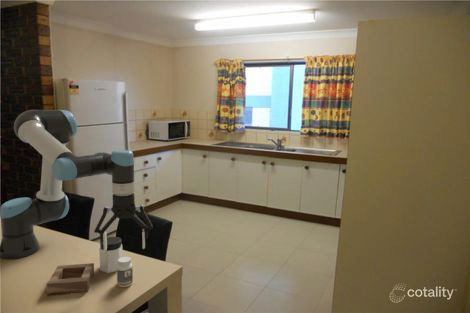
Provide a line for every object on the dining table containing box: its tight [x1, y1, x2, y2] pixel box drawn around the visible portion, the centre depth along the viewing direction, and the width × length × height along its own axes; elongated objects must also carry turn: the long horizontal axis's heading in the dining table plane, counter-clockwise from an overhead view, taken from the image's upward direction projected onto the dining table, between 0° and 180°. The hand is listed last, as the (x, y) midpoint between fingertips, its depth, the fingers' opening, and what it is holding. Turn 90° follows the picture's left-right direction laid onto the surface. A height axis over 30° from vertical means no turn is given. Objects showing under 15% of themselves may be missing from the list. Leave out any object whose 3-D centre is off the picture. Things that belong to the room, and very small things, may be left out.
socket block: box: [46, 262, 95, 297], centre depth 121 cm, size 13×13×4 cm
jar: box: [98, 236, 123, 274], centre depth 133 cm, size 9×8×12 cm
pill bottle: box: [116, 256, 134, 288], centre depth 122 cm, size 6×6×10 cm
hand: (124, 248), depth 121 cm, fingers open, 13 cm apart
